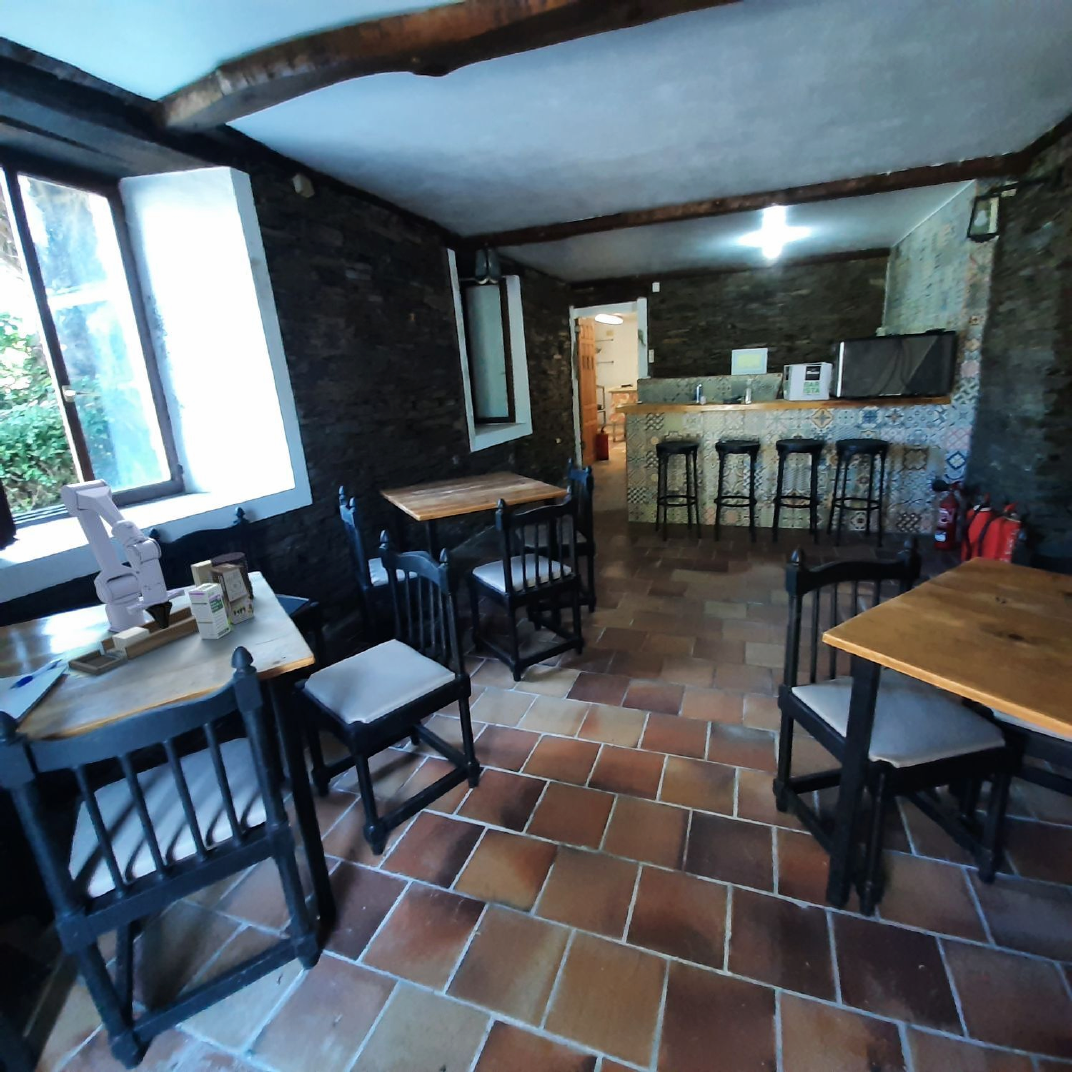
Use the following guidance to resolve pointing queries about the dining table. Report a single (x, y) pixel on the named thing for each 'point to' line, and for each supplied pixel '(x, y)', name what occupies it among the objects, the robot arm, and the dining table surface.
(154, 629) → the walled channel
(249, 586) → the storage jar
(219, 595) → the syrup box
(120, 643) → the cream block
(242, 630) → the dining table surface
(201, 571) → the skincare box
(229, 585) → the coffee box
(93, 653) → the tray
